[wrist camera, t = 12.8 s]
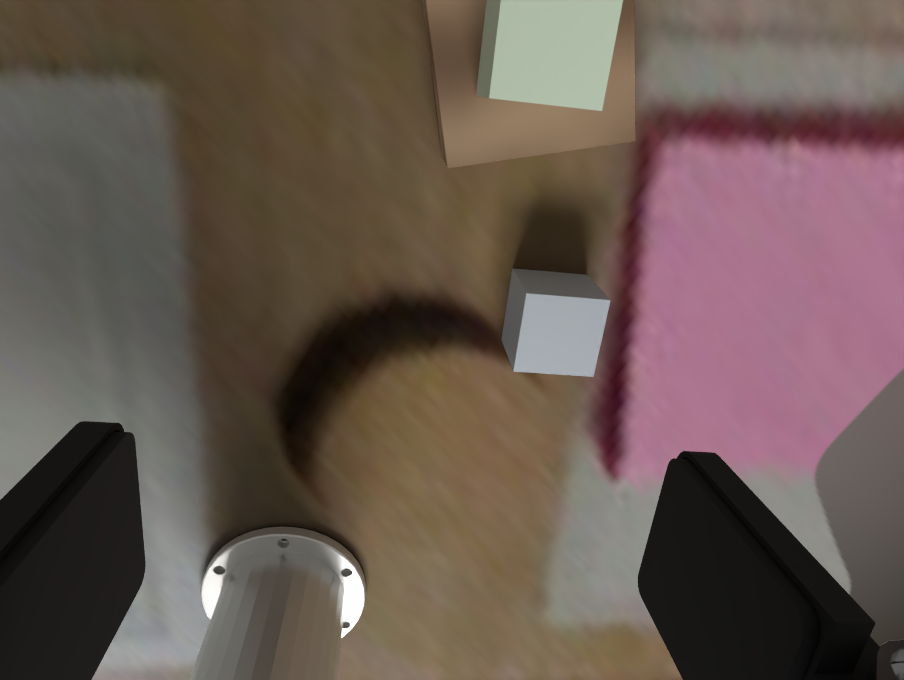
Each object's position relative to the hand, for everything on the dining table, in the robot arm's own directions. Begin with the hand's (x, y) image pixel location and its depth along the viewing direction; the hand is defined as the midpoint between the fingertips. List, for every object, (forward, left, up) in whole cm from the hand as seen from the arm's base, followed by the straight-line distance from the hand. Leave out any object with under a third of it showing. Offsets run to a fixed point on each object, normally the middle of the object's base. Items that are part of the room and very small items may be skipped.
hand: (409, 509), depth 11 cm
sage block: (+9, -6, -24) cm, 26 cm away
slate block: (-6, -10, -29) cm, 31 cm away
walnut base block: (+9, -6, -29) cm, 31 cm away
